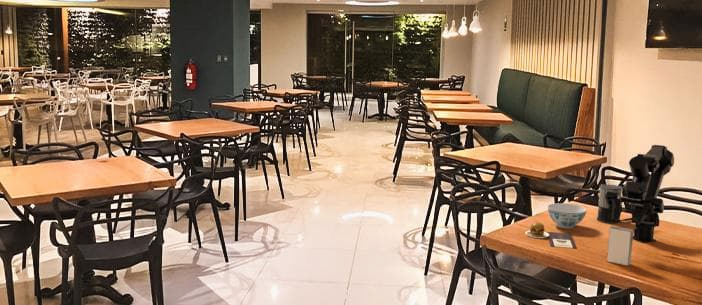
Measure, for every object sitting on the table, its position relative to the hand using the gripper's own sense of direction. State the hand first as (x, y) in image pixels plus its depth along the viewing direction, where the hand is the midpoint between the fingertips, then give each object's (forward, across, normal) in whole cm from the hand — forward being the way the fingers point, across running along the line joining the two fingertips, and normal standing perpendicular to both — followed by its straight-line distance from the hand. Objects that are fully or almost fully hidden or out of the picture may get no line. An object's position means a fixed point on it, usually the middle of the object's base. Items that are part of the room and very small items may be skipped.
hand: (628, 221), depth 222 cm
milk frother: (-22, -15, +41) cm, 49 cm away
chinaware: (-7, -29, +26) cm, 40 cm away
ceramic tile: (+15, 0, +3) cm, 15 cm away
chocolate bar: (+7, -24, +12) cm, 28 cm away
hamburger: (+7, -33, +12) cm, 36 cm away
